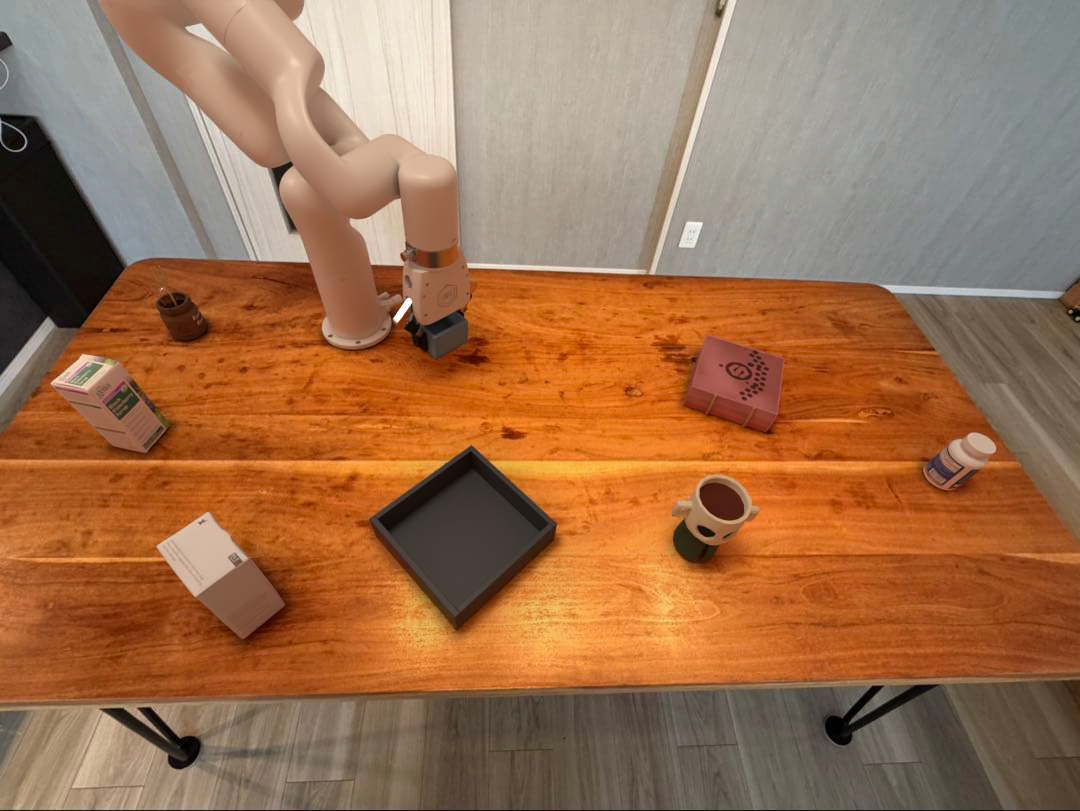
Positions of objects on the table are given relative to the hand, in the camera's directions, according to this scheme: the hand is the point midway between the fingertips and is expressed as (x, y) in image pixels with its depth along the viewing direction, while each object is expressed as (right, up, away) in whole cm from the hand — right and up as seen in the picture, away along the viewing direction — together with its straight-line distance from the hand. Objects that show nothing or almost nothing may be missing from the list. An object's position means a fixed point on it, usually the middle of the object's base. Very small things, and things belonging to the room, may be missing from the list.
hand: (439, 336), depth 88 cm
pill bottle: (+83, -24, -3) cm, 86 cm away
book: (+52, -9, +6) cm, 53 cm away
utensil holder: (-47, +2, +7) cm, 48 cm away
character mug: (+39, -32, -14) cm, 52 cm away
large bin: (+7, -30, -16) cm, 35 cm away
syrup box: (-44, -17, -9) cm, 48 cm away
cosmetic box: (-19, -37, -23) cm, 47 cm away
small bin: (0, 0, +1) cm, 1 cm away
